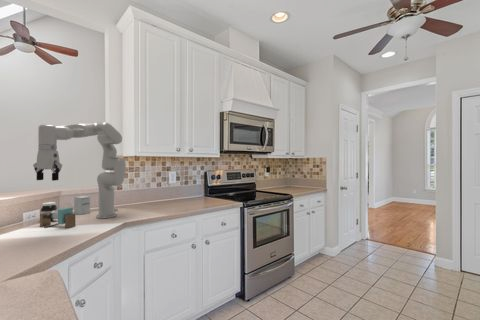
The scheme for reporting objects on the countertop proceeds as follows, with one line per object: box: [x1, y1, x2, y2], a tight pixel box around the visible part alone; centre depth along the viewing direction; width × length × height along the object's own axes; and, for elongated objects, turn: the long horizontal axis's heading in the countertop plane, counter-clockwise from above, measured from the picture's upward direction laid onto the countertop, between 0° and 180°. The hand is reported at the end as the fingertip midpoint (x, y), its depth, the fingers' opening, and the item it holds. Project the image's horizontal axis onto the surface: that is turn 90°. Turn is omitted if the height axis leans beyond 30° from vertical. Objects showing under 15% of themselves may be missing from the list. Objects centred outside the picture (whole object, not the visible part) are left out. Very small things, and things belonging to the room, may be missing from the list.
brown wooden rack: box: [39, 212, 76, 229], centre depth 142 cm, size 20×9×8 cm, turn 80°
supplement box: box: [73, 195, 91, 216], centre depth 176 cm, size 7×7×13 cm
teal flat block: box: [57, 206, 74, 225], centre depth 141 cm, size 3×7×8 cm, turn 170°
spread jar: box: [40, 201, 58, 222], centre depth 156 cm, size 12×11×12 cm
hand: (47, 180), depth 125 cm, fingers open, 9 cm apart
